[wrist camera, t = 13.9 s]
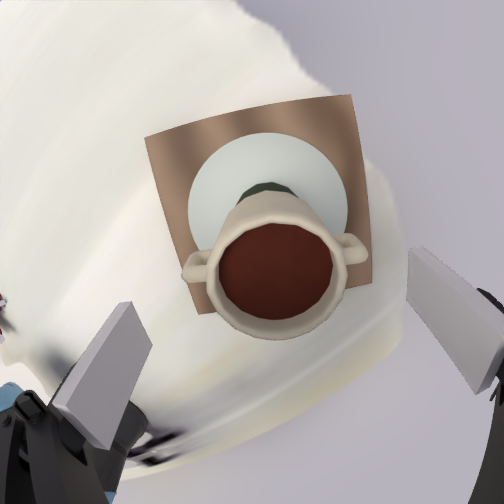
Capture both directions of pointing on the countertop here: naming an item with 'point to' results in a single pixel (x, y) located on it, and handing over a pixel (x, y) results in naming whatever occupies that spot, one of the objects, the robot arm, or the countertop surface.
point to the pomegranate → (0, 338)
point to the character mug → (275, 265)
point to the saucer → (263, 171)
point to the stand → (252, 122)
